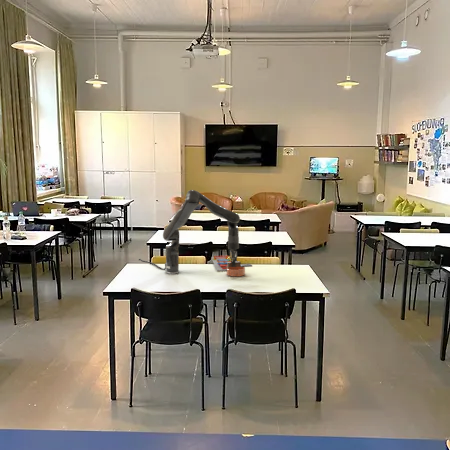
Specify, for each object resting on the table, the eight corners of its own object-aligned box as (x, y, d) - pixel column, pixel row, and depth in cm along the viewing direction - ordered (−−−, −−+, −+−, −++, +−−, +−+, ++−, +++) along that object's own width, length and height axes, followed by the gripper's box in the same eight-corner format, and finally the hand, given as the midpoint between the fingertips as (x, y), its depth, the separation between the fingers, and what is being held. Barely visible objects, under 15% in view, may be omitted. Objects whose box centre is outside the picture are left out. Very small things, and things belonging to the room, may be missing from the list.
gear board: (242, 267, 337) (217, 268, 334) (242, 270, 337) (217, 271, 335) (233, 254, 381) (211, 255, 378) (233, 257, 381) (211, 258, 379)
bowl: (224, 272, 330) (224, 266, 329) (242, 271, 333) (242, 265, 332) (229, 277, 317) (229, 270, 316) (247, 276, 320) (247, 269, 319)
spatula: (228, 267, 307) (228, 263, 307) (226, 266, 312) (226, 261, 312) (252, 266, 311) (252, 262, 311) (250, 264, 316) (250, 260, 316)
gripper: (225, 240, 314) (225, 264, 317) (230, 243, 301) (230, 268, 303) (236, 239, 316) (235, 263, 318) (241, 243, 303) (241, 268, 305)
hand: (233, 266), depth 311 cm, fingers closed on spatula, 2 cm apart
